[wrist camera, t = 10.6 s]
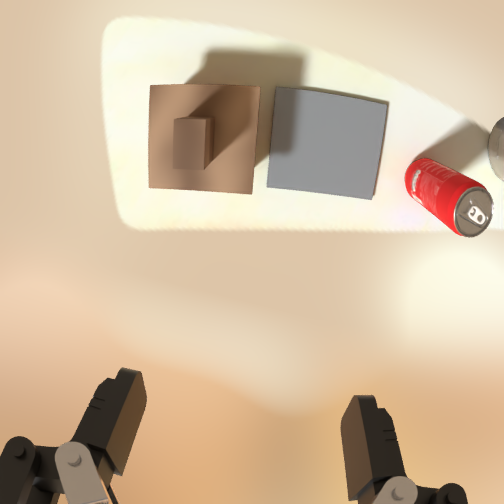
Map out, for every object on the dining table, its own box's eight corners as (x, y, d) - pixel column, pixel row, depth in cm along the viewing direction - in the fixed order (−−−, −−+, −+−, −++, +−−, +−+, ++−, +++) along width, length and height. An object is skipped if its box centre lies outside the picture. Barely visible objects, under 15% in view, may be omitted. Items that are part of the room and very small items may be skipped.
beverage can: (415, 148, 32) (472, 172, 21) (445, 171, 33) (503, 204, 22) (393, 184, 34) (441, 222, 23) (424, 206, 35) (475, 249, 24)
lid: (260, 87, 26) (259, 83, 21) (252, 192, 30) (249, 210, 26) (153, 85, 26) (130, 83, 21) (151, 185, 30) (131, 202, 26)
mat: (385, 104, 30) (387, 105, 29) (370, 198, 35) (371, 200, 34) (276, 86, 30) (276, 86, 30) (266, 185, 35) (266, 187, 34)
